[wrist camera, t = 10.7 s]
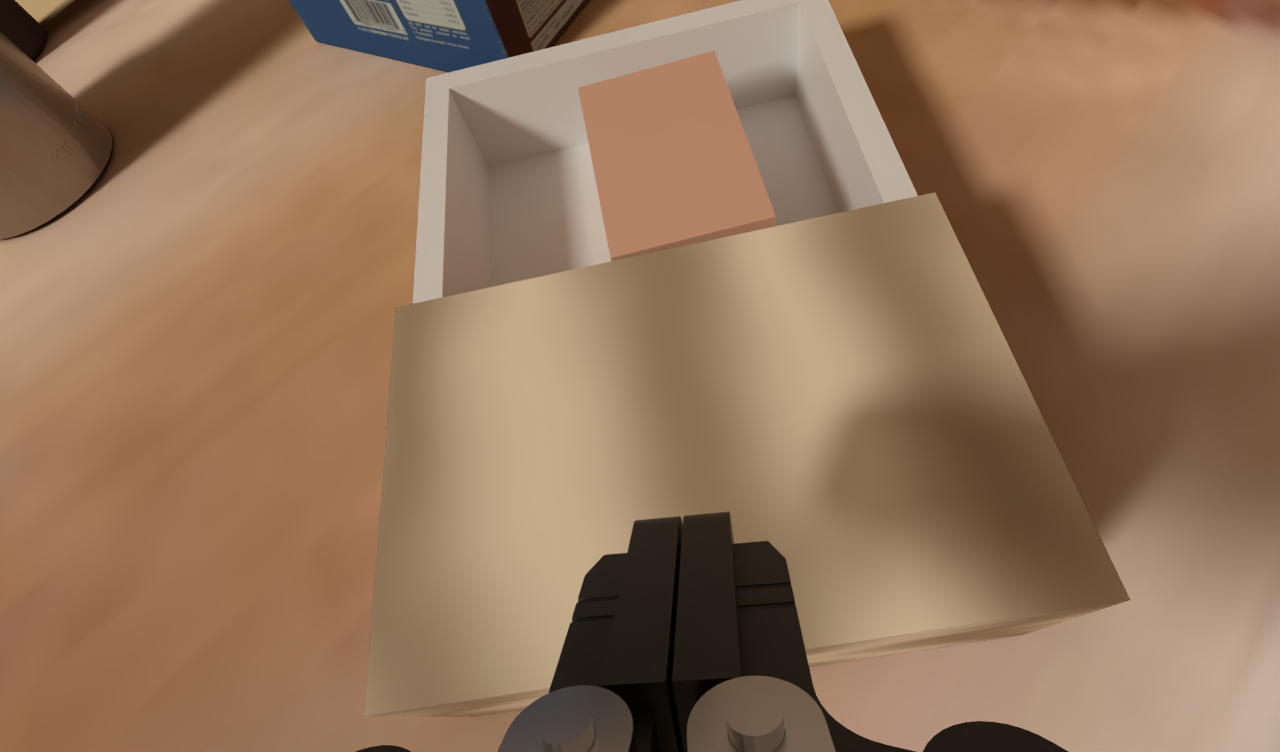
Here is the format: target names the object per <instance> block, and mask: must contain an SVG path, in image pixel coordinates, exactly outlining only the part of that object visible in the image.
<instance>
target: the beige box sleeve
mask: <svg viewBox="0 0 1280 752" xmlns="http://www.w3.org/2000/svg"><path fill="white" fill-rule="evenodd" d="M719 512H730V516H731V523H732V531H733V538H734V544H735V543H747V542H759V541H769V542H770V543H771V544H772V545H773V546H774V547H775V548H776V549H777V550H778V551H779V552H780V553H781V554H782V555H783V556H784V557H785V558H786V561H787V566H788V571H789V576H790V580H791V586H792V590H793V594H794V599H795V605H796V608H797V613H798V618H799V622H800V627H801V632H802V637H803V641H804V646H805V651H806V655H807V660H808V665H809V667H810V666H816V665H823V664H830V663H836V662H843V661H850V660H856V659H863V658H870V657H877V656H883V655H890V654H897V653H903V652H910V651H917V650H923V649H930V648H937V647H944V646H950V645H957V644H964V643H970V642H977V641H984V640H990V639H997V638H1004V637H1011V636H1017V635H1024V634H1027V633H1030V632H1033V631H1036V630H1039V629H1042V628H1045V627H1048V626H1051V625H1055V624H1058V623H1061V622H1064V621H1067V620H1070V619H1073V618H1076V617H1079V616H1082V615H1085V614H1088V613H1091V612H1094V611H1097V610H1100V609H1104V608H1107V607H1110V606H1113V605H1116V604H1119V603H1122V602H1125V601H1128V600H1130V599H1129V596H1128V594H1127V592H1126V590H1125V588H1124V586H1123V584H1122V582H1121V580H1120V578H1119V576H1118V573H1117V571H1116V569H1115V567H1114V565H1113V563H1112V561H1111V559H1110V557H1109V555H1108V553H1107V550H1106V548H1105V546H1104V544H1103V542H1102V540H1101V538H1100V536H1099V534H1098V532H1097V530H1096V527H1095V525H1094V523H1093V521H1092V519H1091V517H1090V515H1089V513H1088V511H1087V509H1086V507H1085V504H1084V502H1083V500H1082V498H1081V496H1080V494H1079V492H1078V490H1077V488H1076V486H1075V484H1074V481H1073V479H1072V477H1071V475H1070V473H1069V471H1068V469H1067V467H1066V465H1065V463H1064V461H1063V458H1062V456H1061V454H1060V452H1059V450H1058V448H1057V446H1056V444H1055V442H1054V440H1053V438H1052V435H1051V433H1050V431H1049V429H1048V427H1047V425H1046V423H1045V421H1044V419H1043V417H1042V415H1041V412H1040V410H1039V408H1038V406H1037V404H1036V402H1035V400H1034V398H1033V396H1032V394H1031V392H1030V389H1029V387H1028V385H1027V383H1026V381H1025V379H1024V377H1023V375H1022V373H1021V371H1020V369H1019V366H1018V364H1017V362H1016V360H1015V358H1014V356H1013V354H1012V352H1011V350H1010V348H1009V346H1008V343H1007V341H1006V339H1005V337H1004V335H1003V333H1002V331H1001V329H1000V327H999V325H998V323H997V320H996V318H995V316H994V314H993V312H992V310H991V308H990V306H989V304H988V302H987V300H986V297H985V295H984V293H983V291H982V289H981V287H980V285H979V283H978V281H977V279H976V277H975V274H974V272H973V270H972V268H971V266H970V264H969V262H968V260H967V258H966V256H965V254H964V251H963V249H962V247H961V245H960V243H959V241H958V239H957V237H956V235H955V233H954V231H953V228H952V226H951V224H950V222H949V220H948V218H947V216H946V214H945V212H944V210H943V208H942V205H941V203H940V201H939V199H938V197H937V195H936V193H935V192H934V193H929V194H925V195H920V196H915V197H911V198H906V199H901V200H897V201H892V202H887V203H883V204H878V205H873V206H869V207H864V208H859V209H854V210H850V211H845V212H840V213H836V214H831V215H826V216H822V217H817V218H812V219H808V220H803V221H798V222H794V223H789V224H784V225H780V226H775V227H770V228H765V229H761V230H756V231H751V232H747V233H742V234H737V235H733V236H728V237H723V238H719V239H714V240H709V241H705V242H700V243H695V244H691V245H686V246H681V247H676V248H672V249H667V250H662V251H658V252H653V253H648V254H644V255H639V256H634V257H630V258H625V259H620V260H616V261H611V262H606V263H601V264H597V265H592V266H587V267H583V268H578V269H573V270H569V271H564V272H559V273H555V274H550V275H545V276H541V277H536V278H531V279H527V280H522V281H517V282H512V283H508V284H503V285H498V286H494V287H489V288H484V289H480V290H475V291H470V292H466V293H461V294H456V295H452V296H447V297H442V298H438V299H433V300H428V301H423V302H419V303H414V304H409V305H405V306H400V307H396V308H395V321H394V334H393V347H392V360H391V373H390V387H389V400H388V413H387V426H386V439H385V452H384V465H383V479H382V492H381V505H380V518H379V531H378V544H377V557H376V571H375V584H374V597H373V610H372V623H371V636H370V649H369V662H368V676H367V689H366V702H365V715H364V716H447V717H474V716H481V715H488V714H495V713H501V712H508V711H515V710H521V709H525V708H526V707H527V706H529V705H530V704H531V703H532V702H534V701H535V700H537V699H539V698H540V697H542V696H544V695H546V694H548V693H549V690H550V686H551V683H552V680H553V677H554V674H555V670H556V667H557V664H558V661H559V657H560V654H561V651H562V648H563V645H564V641H565V638H566V635H567V632H568V628H569V625H570V623H572V616H573V612H574V609H575V606H576V603H578V596H579V593H580V590H581V586H582V583H583V580H584V577H585V575H586V574H587V573H588V571H589V570H590V569H591V568H592V567H593V566H594V565H595V564H596V563H597V562H598V561H599V560H600V559H601V557H602V556H603V555H607V554H619V553H627V552H628V547H629V543H630V538H631V533H632V529H633V524H634V521H635V520H644V519H655V518H666V517H677V516H680V517H681V518H682V522H683V517H684V516H686V515H697V514H708V513H719Z"/></svg>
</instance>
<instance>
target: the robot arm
mask: <svg viewBox="0 0 1280 752" xmlns="http://www.w3.org/2000/svg"><path fill="white" fill-rule="evenodd" d="M111 149H112V137H111V134H110V132H109V130H108V129H107V128H106V127H105V126H104V125H103V124H102V123H101V122H100V121H99V120H97V119H96V118H95V117H94V116H93V115H92V114H91V113H90V112H89V111H87V110H86V109H85V108H84V107H83V106H82V105H81V104H80V103H79V102H77V101H76V100H75V99H74V98H73V97H72V96H71V95H70V94H69V93H67V92H66V91H65V90H64V89H63V88H62V87H61V86H60V85H59V84H57V83H56V82H55V81H54V80H53V79H52V78H51V77H50V76H49V75H48V74H46V73H45V72H44V71H43V70H42V69H41V68H40V67H39V66H38V65H37V64H36V63H35V62H33V61H32V60H31V59H30V58H29V57H28V56H27V55H26V54H25V53H23V52H22V51H21V50H20V49H19V48H18V47H17V46H16V45H14V44H13V43H12V42H11V41H10V40H9V39H8V38H7V37H6V36H4V35H3V34H2V33H1V32H0V240H1V239H6V238H10V237H14V236H17V235H20V234H22V233H25V232H27V231H30V230H32V229H34V228H36V227H38V226H40V225H42V224H44V223H46V222H48V221H49V220H51V219H52V218H54V217H55V216H57V215H58V214H60V213H61V212H63V211H64V210H66V209H67V208H68V207H69V206H71V205H72V204H73V203H74V202H75V201H77V200H78V199H79V198H80V197H81V196H82V195H83V194H84V193H85V192H86V191H87V190H88V189H89V188H90V187H91V186H92V185H93V183H94V182H95V181H96V179H97V178H98V177H99V175H100V174H101V173H102V171H103V169H104V167H105V165H106V163H107V161H108V160H109V157H110V153H111ZM356 752H410V751H409V750H407V749H404V748H402V747H398V746H392V745H382V746H375V747H369V748H366V749H362V750H359V751H356ZM498 752H915V751H910V750H906V749H902V748H898V747H893V746H889V745H885V744H881V743H878V742H875V741H871V740H869V739H867V738H864V737H862V736H859V735H857V734H856V733H854V732H852V731H850V730H848V729H847V728H845V727H844V726H843V725H841V724H840V723H838V722H837V721H836V720H835V719H834V718H833V717H832V716H831V715H830V714H829V713H828V712H827V711H826V710H825V709H824V707H823V706H822V705H821V703H820V701H819V700H818V698H817V696H816V694H815V690H814V687H813V684H812V679H811V674H810V669H809V665H808V660H807V655H806V651H805V646H804V641H803V637H802V632H801V627H800V622H799V618H798V613H797V608H796V605H795V599H794V594H793V590H792V586H791V580H790V576H789V571H788V566H787V561H786V558H785V557H784V556H783V555H782V554H781V553H780V552H779V551H778V550H777V549H776V548H775V547H774V546H773V545H772V544H771V543H770V542H769V541H759V542H747V543H735V544H734V538H733V531H732V523H731V516H730V512H719V513H708V514H697V515H686V516H684V517H683V522H682V518H681V517H680V516H677V517H666V518H655V519H644V520H635V521H634V524H633V529H632V533H631V538H630V543H629V547H628V552H627V553H619V554H607V555H603V556H602V557H601V559H600V560H599V561H598V562H597V563H596V564H595V565H594V566H593V567H592V568H591V569H590V570H589V571H588V573H587V574H586V575H585V577H584V580H583V583H582V586H581V590H580V593H579V596H578V603H576V606H575V609H574V612H573V616H572V623H570V625H569V628H568V632H567V635H566V638H565V641H564V645H563V648H562V651H561V654H560V657H559V661H558V664H557V667H556V670H555V674H554V677H553V680H552V683H551V686H550V690H549V693H548V694H546V695H544V696H542V697H540V698H539V699H537V700H535V701H534V702H532V703H531V704H530V705H529V706H527V707H526V708H525V709H524V710H523V711H522V712H521V713H520V714H519V715H518V716H517V717H516V718H515V720H514V721H513V722H512V724H511V725H510V727H509V729H508V730H507V732H506V734H505V736H504V738H503V741H502V743H501V745H500V747H499V750H498ZM923 752H1068V751H1066V750H1064V749H1063V748H1061V747H1059V746H1058V745H1056V744H1054V743H1053V742H1051V741H1049V740H1047V739H1045V738H1043V737H1041V736H1039V735H1037V734H1035V733H1032V732H1030V731H1027V730H1025V729H1022V728H1018V727H1015V726H1011V725H1008V724H1002V723H996V722H983V721H976V722H965V723H961V724H957V725H953V726H951V727H948V728H946V729H944V730H942V731H941V732H939V733H938V734H936V735H935V736H934V737H933V738H932V739H931V740H930V741H929V742H928V743H927V745H926V747H925V749H924V751H923Z"/></svg>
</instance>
